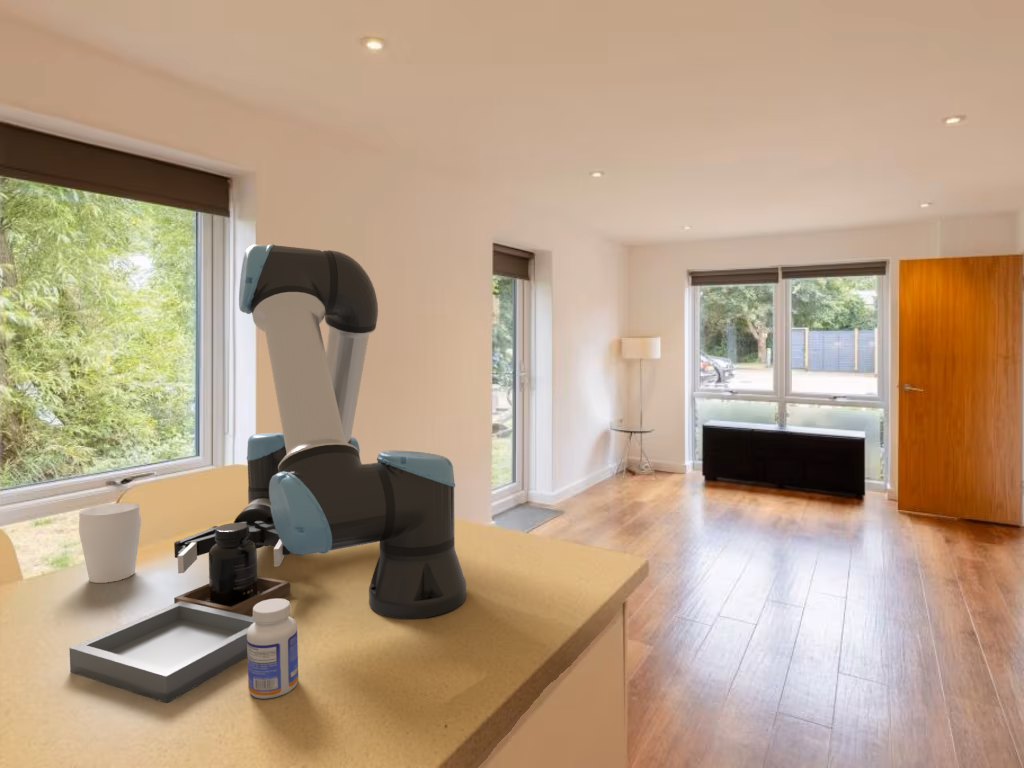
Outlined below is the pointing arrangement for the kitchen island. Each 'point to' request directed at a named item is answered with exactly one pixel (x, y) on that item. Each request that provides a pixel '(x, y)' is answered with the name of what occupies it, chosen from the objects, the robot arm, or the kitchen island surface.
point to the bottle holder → (268, 585)
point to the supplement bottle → (232, 565)
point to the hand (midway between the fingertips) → (229, 561)
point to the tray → (165, 650)
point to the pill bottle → (272, 650)
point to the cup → (110, 540)
